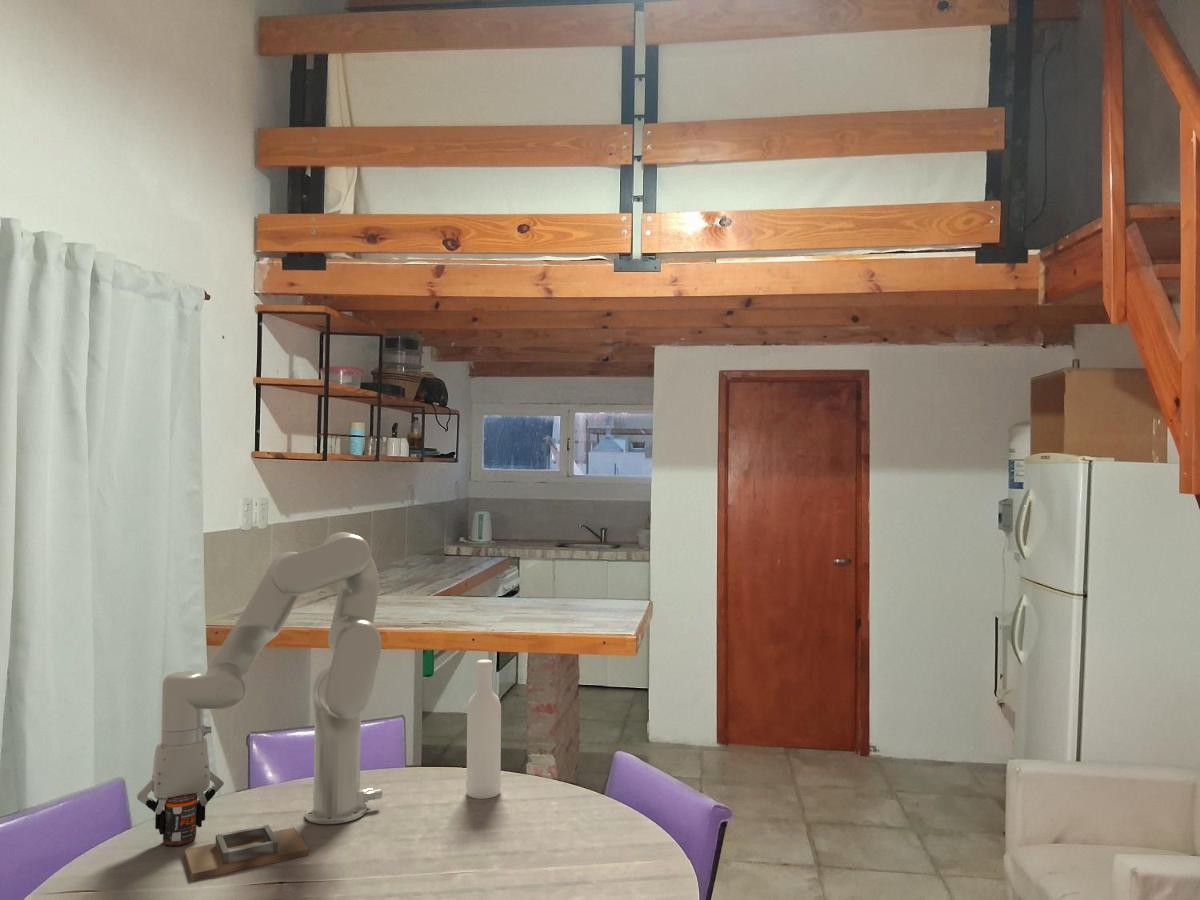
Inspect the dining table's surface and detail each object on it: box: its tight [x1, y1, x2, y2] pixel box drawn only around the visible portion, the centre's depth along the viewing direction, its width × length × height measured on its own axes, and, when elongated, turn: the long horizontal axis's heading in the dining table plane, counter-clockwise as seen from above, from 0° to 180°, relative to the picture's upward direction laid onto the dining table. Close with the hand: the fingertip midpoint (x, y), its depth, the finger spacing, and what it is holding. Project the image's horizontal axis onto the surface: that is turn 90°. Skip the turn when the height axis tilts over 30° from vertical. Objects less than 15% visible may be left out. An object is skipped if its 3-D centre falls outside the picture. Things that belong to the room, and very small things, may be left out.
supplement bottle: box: [162, 794, 199, 847], centre depth 168 cm, size 6×6×11 cm
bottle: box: [465, 659, 502, 800], centre depth 195 cm, size 8×8×30 cm
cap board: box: [184, 824, 309, 881], centre depth 161 cm, size 20×12×3 cm, turn 122°
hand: (180, 827), depth 167 cm, fingers closed on supplement bottle, 6 cm apart
